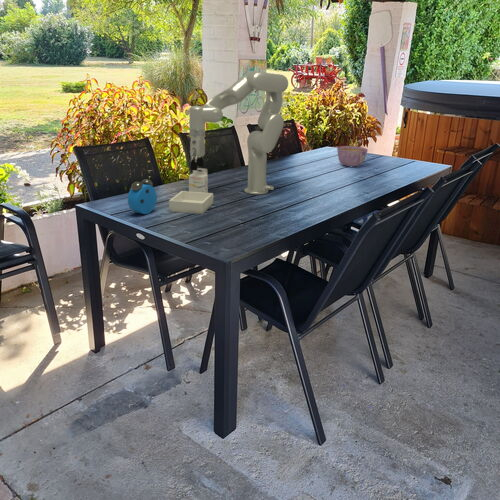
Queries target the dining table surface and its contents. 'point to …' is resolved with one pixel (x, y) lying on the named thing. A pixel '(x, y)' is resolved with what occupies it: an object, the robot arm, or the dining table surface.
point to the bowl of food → (351, 155)
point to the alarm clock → (142, 197)
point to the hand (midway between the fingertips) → (196, 168)
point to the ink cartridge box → (198, 181)
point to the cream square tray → (191, 202)
